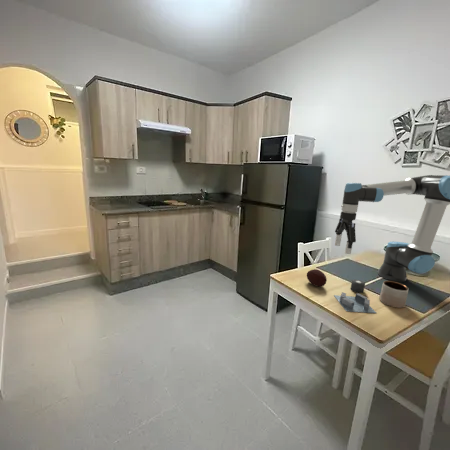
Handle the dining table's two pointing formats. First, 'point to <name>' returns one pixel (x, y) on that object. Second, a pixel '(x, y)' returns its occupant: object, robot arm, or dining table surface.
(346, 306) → the blue square tray
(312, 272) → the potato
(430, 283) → the dining table surface
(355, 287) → the cap
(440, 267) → the dining table surface
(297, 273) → the dining table surface
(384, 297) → the planter
